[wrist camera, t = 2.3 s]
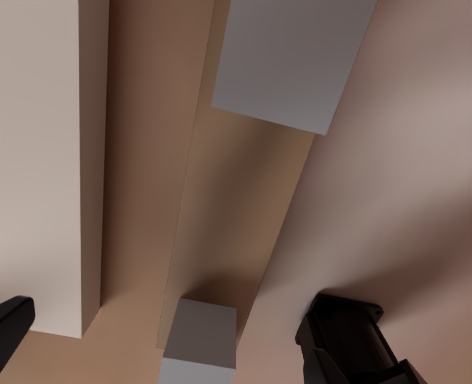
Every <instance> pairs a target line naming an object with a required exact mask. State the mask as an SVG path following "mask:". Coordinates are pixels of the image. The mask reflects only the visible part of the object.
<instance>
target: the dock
mask: <svg viewBox="0 0 472 384" xmlns="http://www.w3.org/2000/svg"><path fill="white" fill-rule="evenodd" d="M108 30H109V0H0V303H2V302H4V301H6V300H8V299H10V298H12V297H15V296H18V295H22V296H28V297H32V298H33V300H34V306H35V314H36V316H35V320H34V322H33V324H32V326H31V327H30V329H29V330H34V331H40V332H46V333H52V334H57V335H63V336H69V337H75V338H82V337H83V335H84V334H85V332H86V330H87V329H88V327H89V326H90V324H91V322H92V321H93V319H94V318H95V316H96V314H97V313H98V311H99V309H100V284H101V252H102V221H103V189H104V157H105V125H106V94H107V62H108Z"/></svg>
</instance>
